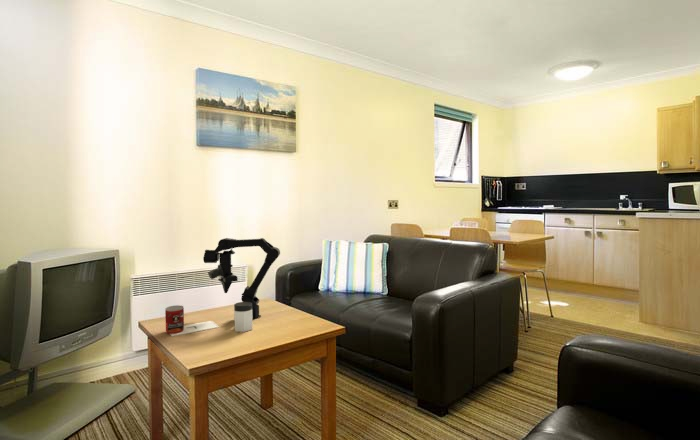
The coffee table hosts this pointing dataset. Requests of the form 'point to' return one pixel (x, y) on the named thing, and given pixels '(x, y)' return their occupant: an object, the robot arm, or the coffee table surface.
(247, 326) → the jar
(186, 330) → the letter mat
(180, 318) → the canned food
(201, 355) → the coffee table surface
